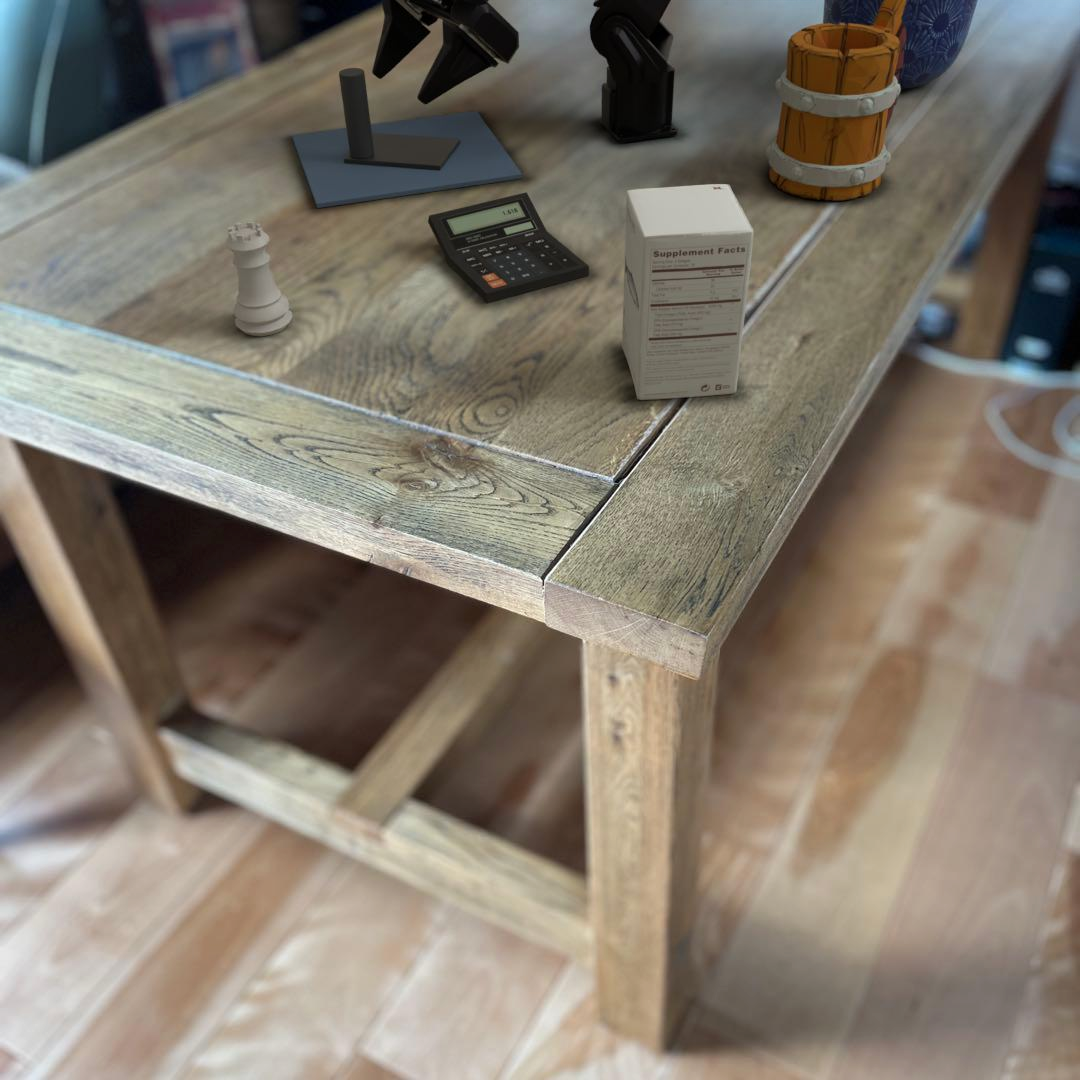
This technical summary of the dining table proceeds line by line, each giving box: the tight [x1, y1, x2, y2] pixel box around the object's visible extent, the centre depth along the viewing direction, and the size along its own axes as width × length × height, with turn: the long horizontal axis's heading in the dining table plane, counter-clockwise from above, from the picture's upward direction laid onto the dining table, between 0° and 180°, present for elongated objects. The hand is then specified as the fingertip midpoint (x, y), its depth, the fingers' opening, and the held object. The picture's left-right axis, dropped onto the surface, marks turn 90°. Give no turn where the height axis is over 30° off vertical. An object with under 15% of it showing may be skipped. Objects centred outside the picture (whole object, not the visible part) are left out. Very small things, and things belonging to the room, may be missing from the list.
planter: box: [822, 0, 979, 90], centre depth 122 cm, size 17×17×15 cm
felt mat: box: [291, 110, 523, 209], centre depth 112 cm, size 20×18×1 cm
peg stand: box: [338, 67, 460, 170], centre depth 109 cm, size 10×7×8 cm
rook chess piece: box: [224, 220, 293, 337], centre depth 85 cm, size 4×4×8 cm
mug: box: [765, 0, 907, 202], centre depth 102 cm, size 11×16×15 cm, turn 137°
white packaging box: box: [621, 183, 755, 401], centre depth 77 cm, size 7×7×13 cm
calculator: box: [427, 191, 590, 304], centre depth 94 cm, size 9×12×3 cm
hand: (397, 88), depth 109 cm, fingers open, 9 cm apart
